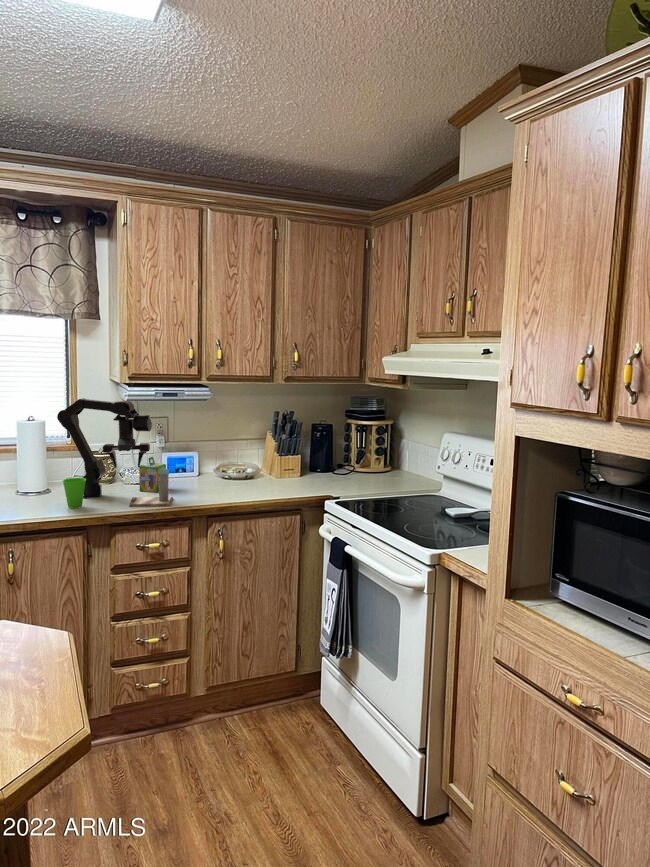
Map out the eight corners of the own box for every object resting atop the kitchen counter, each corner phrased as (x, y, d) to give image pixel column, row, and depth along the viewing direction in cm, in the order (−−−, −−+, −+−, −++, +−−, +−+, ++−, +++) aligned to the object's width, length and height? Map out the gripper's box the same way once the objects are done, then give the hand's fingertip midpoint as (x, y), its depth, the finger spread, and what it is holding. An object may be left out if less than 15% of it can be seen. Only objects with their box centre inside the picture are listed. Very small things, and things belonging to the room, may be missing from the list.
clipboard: (129, 506, 264) (129, 502, 264) (133, 499, 277) (133, 494, 277) (170, 506, 267) (169, 501, 266) (172, 498, 279) (172, 494, 279)
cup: (91, 507, 262) (90, 480, 261) (69, 510, 255) (69, 483, 254) (80, 503, 268) (79, 476, 266) (58, 506, 261) (57, 479, 260)
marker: (160, 501, 269) (160, 470, 267) (158, 499, 272) (158, 469, 271) (169, 501, 271) (169, 470, 269) (167, 499, 274) (167, 468, 272)
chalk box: (158, 492, 290) (157, 459, 288) (138, 491, 291) (138, 458, 289) (167, 488, 299) (166, 456, 297) (148, 487, 300) (148, 455, 298)
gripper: (99, 434, 266) (101, 472, 268) (146, 433, 269) (148, 470, 271) (104, 430, 277) (105, 467, 279) (149, 429, 280) (150, 466, 282)
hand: (127, 467), depth 277 cm, fingers open, 9 cm apart
